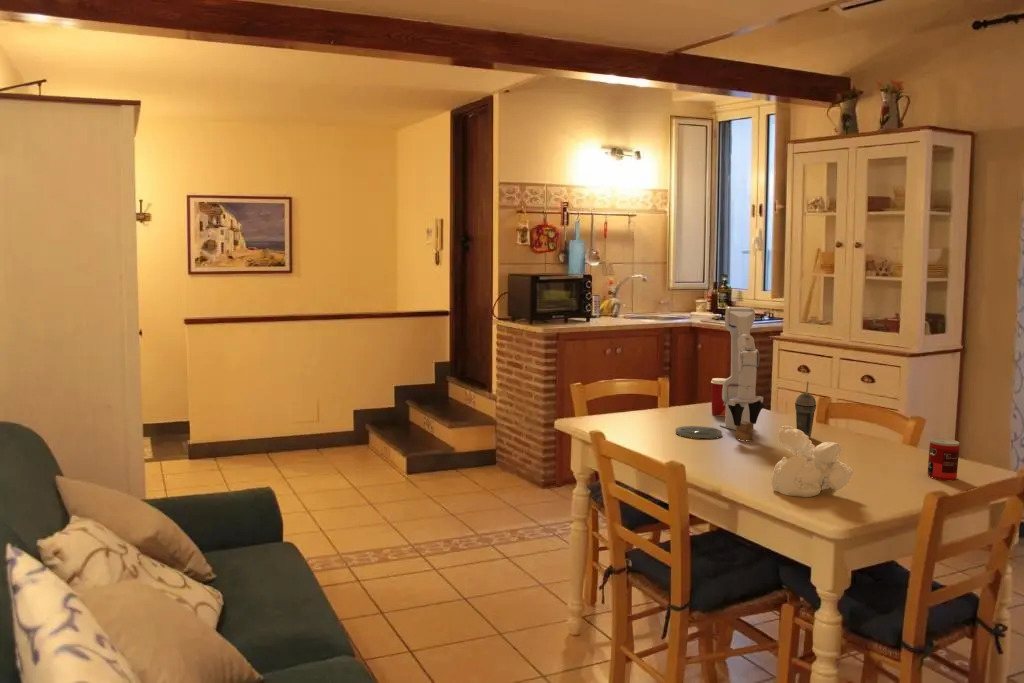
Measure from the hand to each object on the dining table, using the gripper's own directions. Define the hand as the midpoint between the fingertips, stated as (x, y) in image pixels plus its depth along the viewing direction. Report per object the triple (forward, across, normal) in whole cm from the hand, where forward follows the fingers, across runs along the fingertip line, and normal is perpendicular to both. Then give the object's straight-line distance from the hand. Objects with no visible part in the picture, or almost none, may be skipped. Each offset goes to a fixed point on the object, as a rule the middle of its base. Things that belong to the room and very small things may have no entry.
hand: (745, 424), depth 313 cm
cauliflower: (+6, -31, -54) cm, 62 cm away
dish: (+5, -8, +14) cm, 17 cm away
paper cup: (+5, +24, +36) cm, 44 cm away
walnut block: (+5, 0, 0) cm, 5 cm away
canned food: (+6, +16, -63) cm, 65 cm away
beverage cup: (+6, +22, -7) cm, 24 cm away
